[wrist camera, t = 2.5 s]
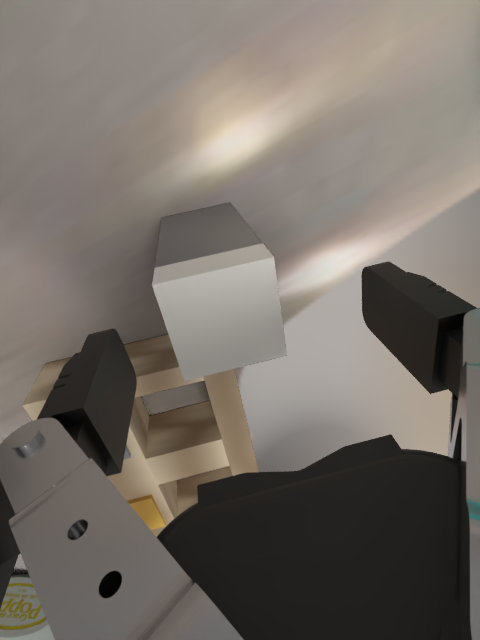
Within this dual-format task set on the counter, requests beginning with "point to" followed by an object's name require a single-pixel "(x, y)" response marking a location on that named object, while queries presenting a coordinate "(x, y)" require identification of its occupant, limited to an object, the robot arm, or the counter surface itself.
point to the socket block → (170, 434)
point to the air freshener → (23, 612)
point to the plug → (217, 292)
